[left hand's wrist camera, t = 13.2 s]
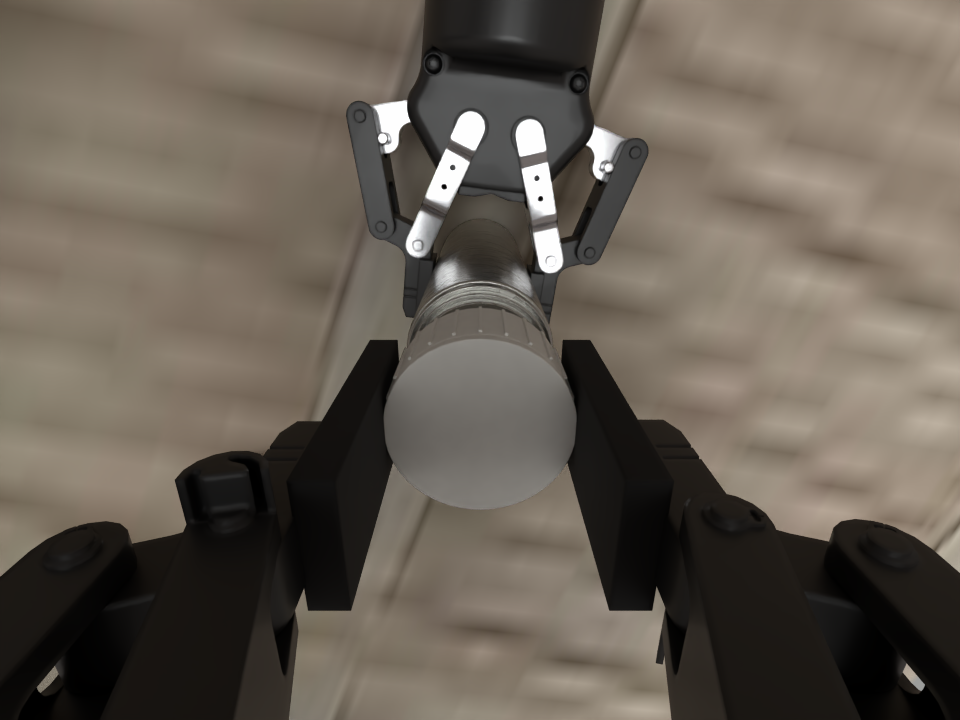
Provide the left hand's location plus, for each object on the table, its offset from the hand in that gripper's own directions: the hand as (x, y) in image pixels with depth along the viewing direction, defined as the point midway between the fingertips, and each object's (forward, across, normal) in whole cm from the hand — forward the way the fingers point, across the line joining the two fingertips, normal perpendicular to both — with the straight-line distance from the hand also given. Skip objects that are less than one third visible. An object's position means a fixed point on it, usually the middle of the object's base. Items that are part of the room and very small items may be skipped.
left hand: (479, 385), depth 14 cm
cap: (-2, 0, 0) cm, 2 cm away
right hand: (+13, 0, -3) cm, 13 cm away
